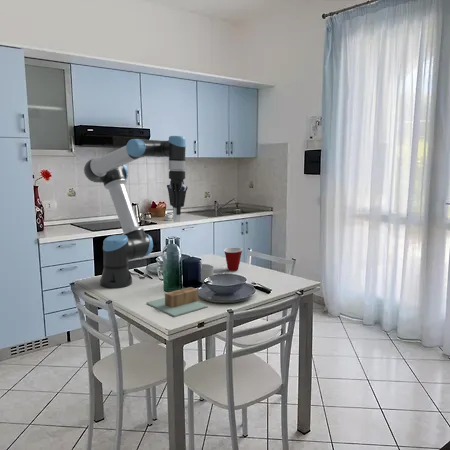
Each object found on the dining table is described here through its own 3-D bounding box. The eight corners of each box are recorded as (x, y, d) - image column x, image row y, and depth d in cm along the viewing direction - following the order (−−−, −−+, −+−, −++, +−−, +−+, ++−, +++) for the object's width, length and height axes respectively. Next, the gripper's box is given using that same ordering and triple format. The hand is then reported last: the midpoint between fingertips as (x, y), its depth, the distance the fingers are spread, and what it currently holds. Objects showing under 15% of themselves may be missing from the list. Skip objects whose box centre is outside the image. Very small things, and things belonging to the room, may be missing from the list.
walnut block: (191, 297, 186) (164, 304, 176) (191, 286, 185) (164, 293, 175) (198, 300, 182) (171, 307, 173) (198, 289, 181) (171, 296, 172)
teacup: (202, 277, 221) (202, 262, 220) (218, 281, 214) (218, 265, 213) (183, 282, 210) (183, 267, 209) (199, 287, 203) (199, 271, 202)
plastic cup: (220, 267, 240) (220, 247, 239) (238, 266, 244) (238, 246, 242) (226, 272, 230) (226, 251, 228) (244, 271, 233) (245, 250, 232)
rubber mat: (146, 303, 179) (146, 302, 179) (178, 295, 190) (178, 294, 190) (174, 317, 165) (174, 315, 164) (207, 307, 176) (207, 305, 176)
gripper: (192, 170, 190) (191, 222, 194) (175, 169, 199) (174, 219, 203) (179, 171, 185) (178, 224, 188) (162, 170, 194) (162, 220, 198)
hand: (176, 221), depth 196 cm, fingers closed
